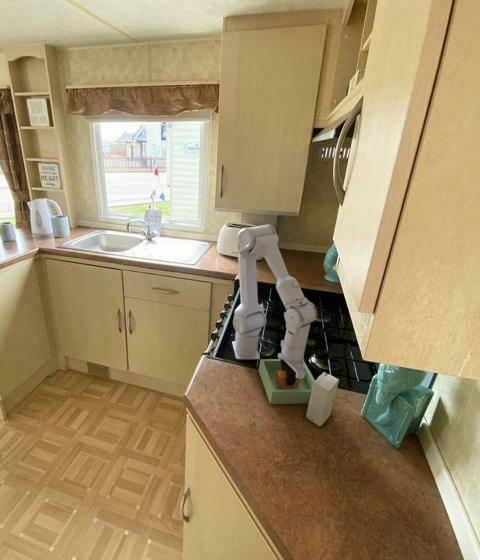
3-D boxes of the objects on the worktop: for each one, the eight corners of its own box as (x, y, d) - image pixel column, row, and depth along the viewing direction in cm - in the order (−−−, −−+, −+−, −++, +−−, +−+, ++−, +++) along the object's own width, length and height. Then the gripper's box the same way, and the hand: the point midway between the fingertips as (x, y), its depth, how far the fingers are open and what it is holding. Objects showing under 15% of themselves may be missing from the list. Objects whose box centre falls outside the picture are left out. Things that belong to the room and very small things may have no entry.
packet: (275, 381, 94) (277, 370, 93) (294, 380, 95) (297, 370, 93) (278, 388, 92) (280, 377, 90) (298, 388, 92) (300, 377, 90)
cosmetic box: (320, 427, 80) (330, 392, 75) (304, 417, 83) (312, 382, 78) (331, 414, 84) (341, 379, 79) (315, 404, 87) (324, 370, 82)
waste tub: (258, 370, 99) (260, 359, 97) (300, 370, 100) (302, 358, 98) (270, 404, 87) (272, 391, 85) (317, 403, 88) (321, 391, 86)
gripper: (273, 328, 93) (267, 364, 99) (289, 359, 80) (281, 399, 86) (296, 327, 94) (289, 363, 99) (316, 359, 80) (306, 398, 86)
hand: (287, 380), depth 93 cm, fingers closed on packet, 3 cm apart
